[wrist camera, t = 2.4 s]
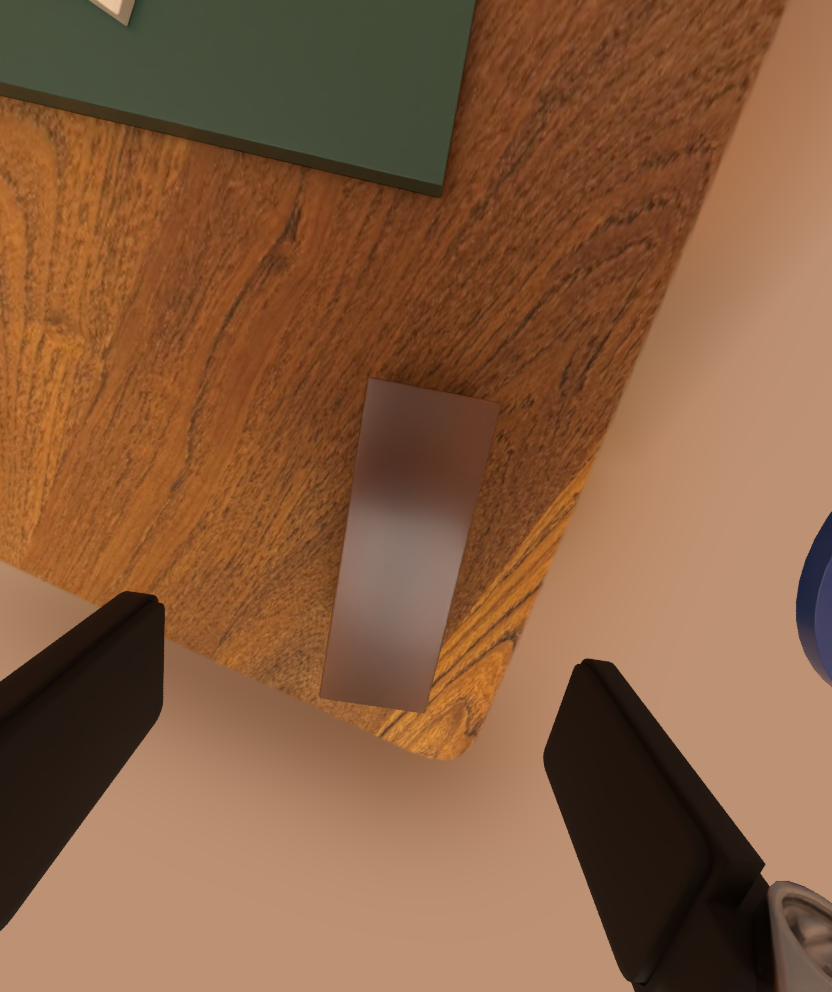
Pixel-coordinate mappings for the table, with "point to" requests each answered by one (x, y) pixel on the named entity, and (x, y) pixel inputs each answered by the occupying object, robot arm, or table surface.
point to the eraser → (404, 541)
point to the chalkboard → (258, 76)
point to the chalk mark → (116, 8)
